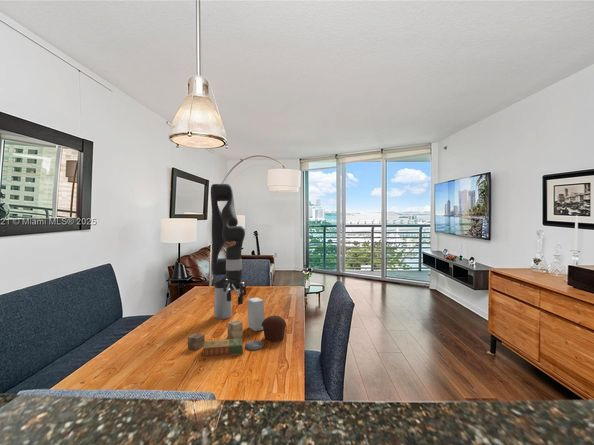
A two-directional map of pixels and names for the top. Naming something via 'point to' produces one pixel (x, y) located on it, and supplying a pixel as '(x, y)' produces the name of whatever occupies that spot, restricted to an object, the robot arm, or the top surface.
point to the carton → (222, 348)
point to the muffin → (274, 328)
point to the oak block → (235, 329)
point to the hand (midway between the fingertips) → (234, 302)
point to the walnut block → (196, 341)
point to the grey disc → (254, 345)
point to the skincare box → (255, 313)
